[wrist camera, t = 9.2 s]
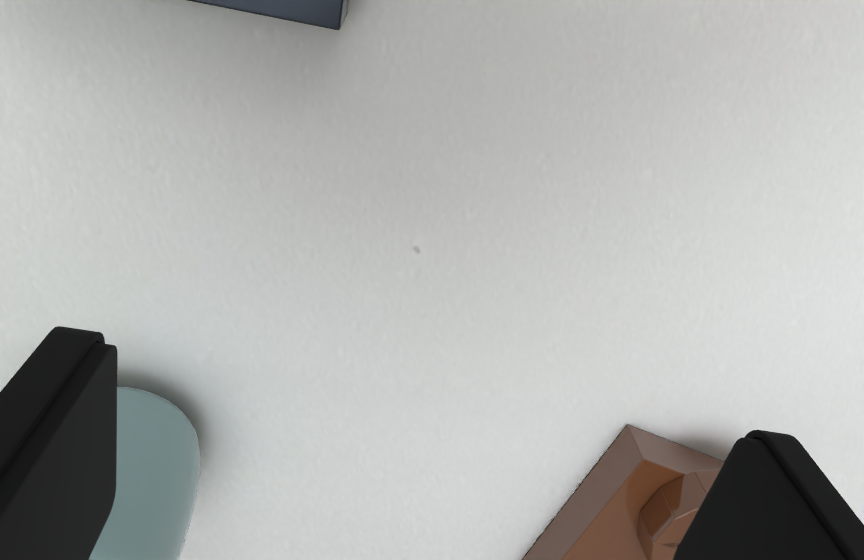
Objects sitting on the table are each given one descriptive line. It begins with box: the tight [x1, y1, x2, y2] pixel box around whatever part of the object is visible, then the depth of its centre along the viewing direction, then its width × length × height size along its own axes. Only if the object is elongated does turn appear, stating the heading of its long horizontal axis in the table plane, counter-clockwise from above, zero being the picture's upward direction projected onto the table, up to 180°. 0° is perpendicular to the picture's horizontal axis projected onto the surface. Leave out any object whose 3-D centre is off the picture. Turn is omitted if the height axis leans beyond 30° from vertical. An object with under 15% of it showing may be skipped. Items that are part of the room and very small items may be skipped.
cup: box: [88, 386, 201, 560], centre depth 28 cm, size 8×8×10 cm
